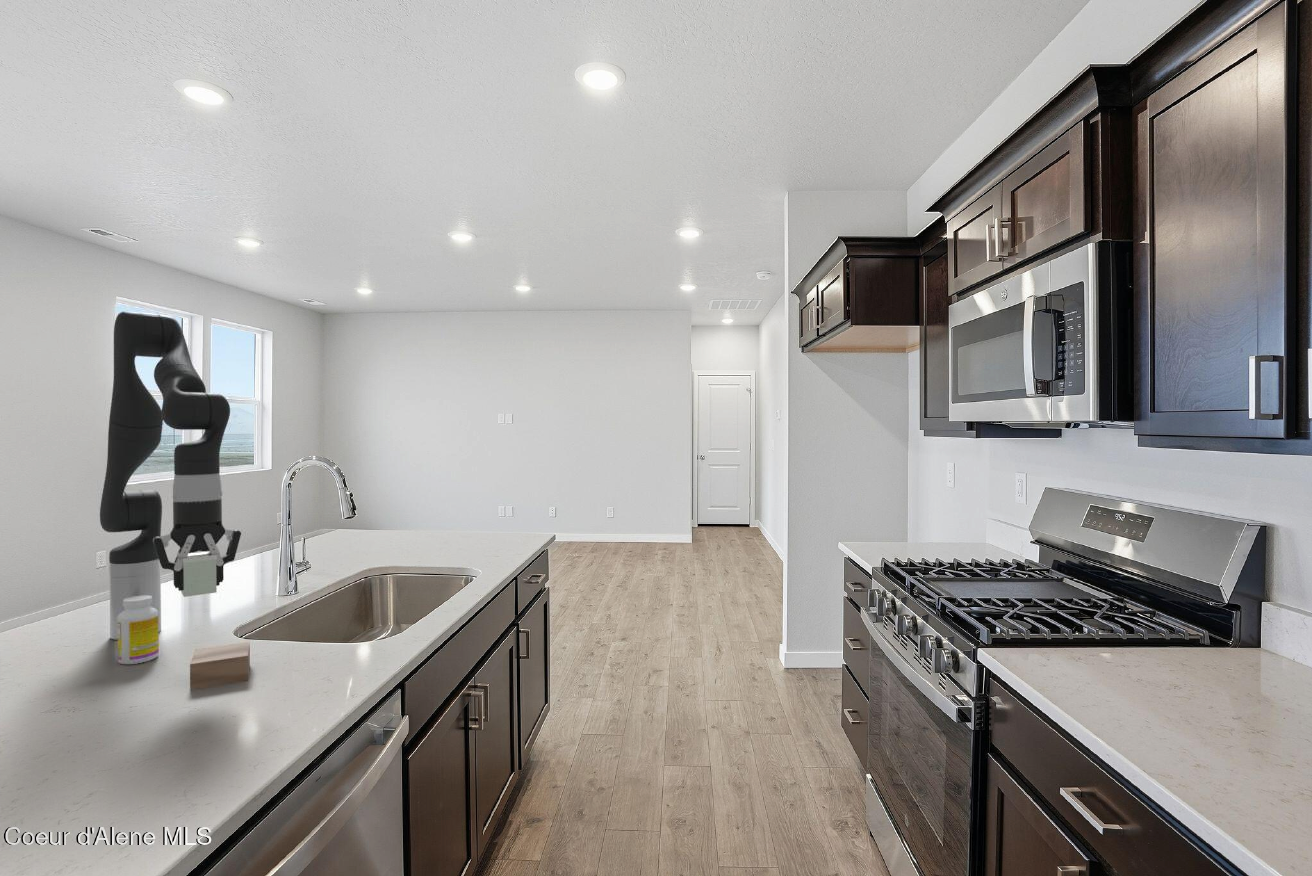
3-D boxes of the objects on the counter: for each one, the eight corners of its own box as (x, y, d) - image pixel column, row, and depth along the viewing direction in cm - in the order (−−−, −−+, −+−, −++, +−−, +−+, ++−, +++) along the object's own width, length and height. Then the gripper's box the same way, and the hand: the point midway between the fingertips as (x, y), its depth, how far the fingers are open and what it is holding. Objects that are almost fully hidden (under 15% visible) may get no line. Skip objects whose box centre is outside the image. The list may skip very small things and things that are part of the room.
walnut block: (195, 674, 127) (195, 649, 127) (249, 666, 131) (249, 641, 131) (190, 691, 119) (189, 664, 119) (247, 681, 124) (247, 655, 123)
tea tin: (180, 591, 123) (180, 554, 123) (213, 587, 126) (212, 551, 126) (183, 597, 119) (182, 558, 119) (217, 592, 123) (216, 554, 122)
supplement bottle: (167, 654, 137) (166, 594, 137) (139, 666, 130) (138, 602, 130) (138, 653, 138) (137, 593, 137) (108, 664, 131) (108, 601, 131)
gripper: (238, 493, 130) (239, 578, 130) (148, 499, 121) (149, 590, 121) (245, 496, 125) (246, 584, 125) (151, 502, 115) (152, 597, 115)
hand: (198, 587), depth 123 cm, fingers closed on tea tin, 5 cm apart
